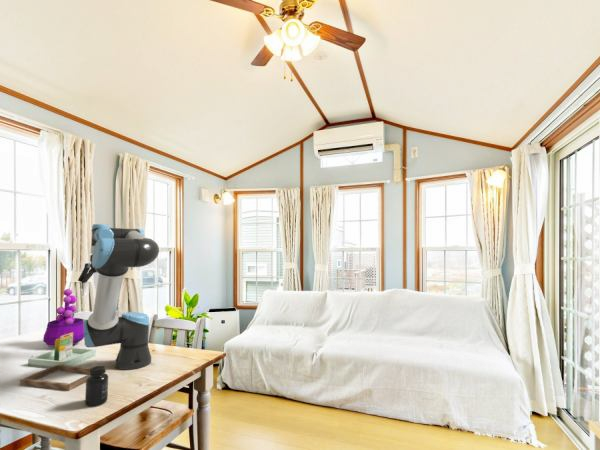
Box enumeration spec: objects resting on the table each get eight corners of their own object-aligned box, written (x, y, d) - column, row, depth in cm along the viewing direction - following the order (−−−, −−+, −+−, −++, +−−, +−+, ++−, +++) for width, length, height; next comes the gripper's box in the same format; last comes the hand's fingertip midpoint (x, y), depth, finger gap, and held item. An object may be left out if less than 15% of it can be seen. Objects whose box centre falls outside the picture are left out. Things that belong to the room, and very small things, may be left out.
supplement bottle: (102, 396, 122) (104, 363, 123) (110, 402, 118) (112, 367, 119) (81, 402, 117) (83, 368, 118) (88, 409, 113) (90, 373, 113)
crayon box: (67, 355, 161) (68, 331, 161) (72, 356, 160) (73, 332, 161) (53, 361, 153) (54, 335, 154) (58, 361, 153) (60, 336, 154)
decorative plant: (54, 340, 188) (58, 286, 189) (90, 339, 191) (93, 286, 193) (34, 350, 169) (38, 291, 171) (75, 349, 172) (78, 291, 174)
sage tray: (95, 355, 164) (95, 349, 164) (63, 369, 146) (63, 362, 146) (63, 352, 168) (63, 346, 168) (27, 365, 149) (28, 358, 150)
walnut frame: (102, 374, 142) (102, 369, 142) (69, 390, 126) (69, 385, 126) (57, 369, 146) (57, 364, 146) (19, 384, 130) (20, 379, 130)
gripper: (126, 254, 172) (123, 296, 171) (83, 253, 176) (80, 293, 174) (115, 255, 164) (113, 298, 163) (71, 253, 168) (68, 296, 167)
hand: (96, 296), depth 169 cm, fingers open, 13 cm apart
